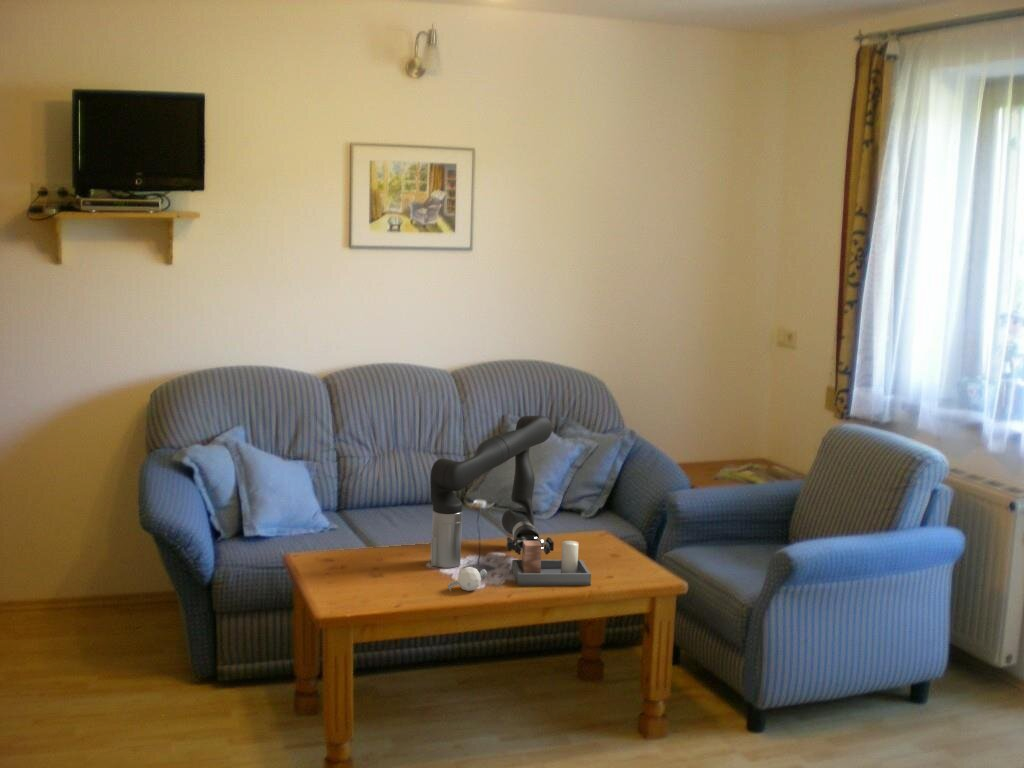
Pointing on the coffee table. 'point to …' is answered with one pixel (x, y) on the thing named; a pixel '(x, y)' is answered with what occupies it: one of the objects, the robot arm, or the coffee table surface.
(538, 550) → the coral block
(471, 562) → the coffee table surface
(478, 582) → the alien figurine
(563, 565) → the cream cylinder
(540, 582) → the tray
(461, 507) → the robot arm
